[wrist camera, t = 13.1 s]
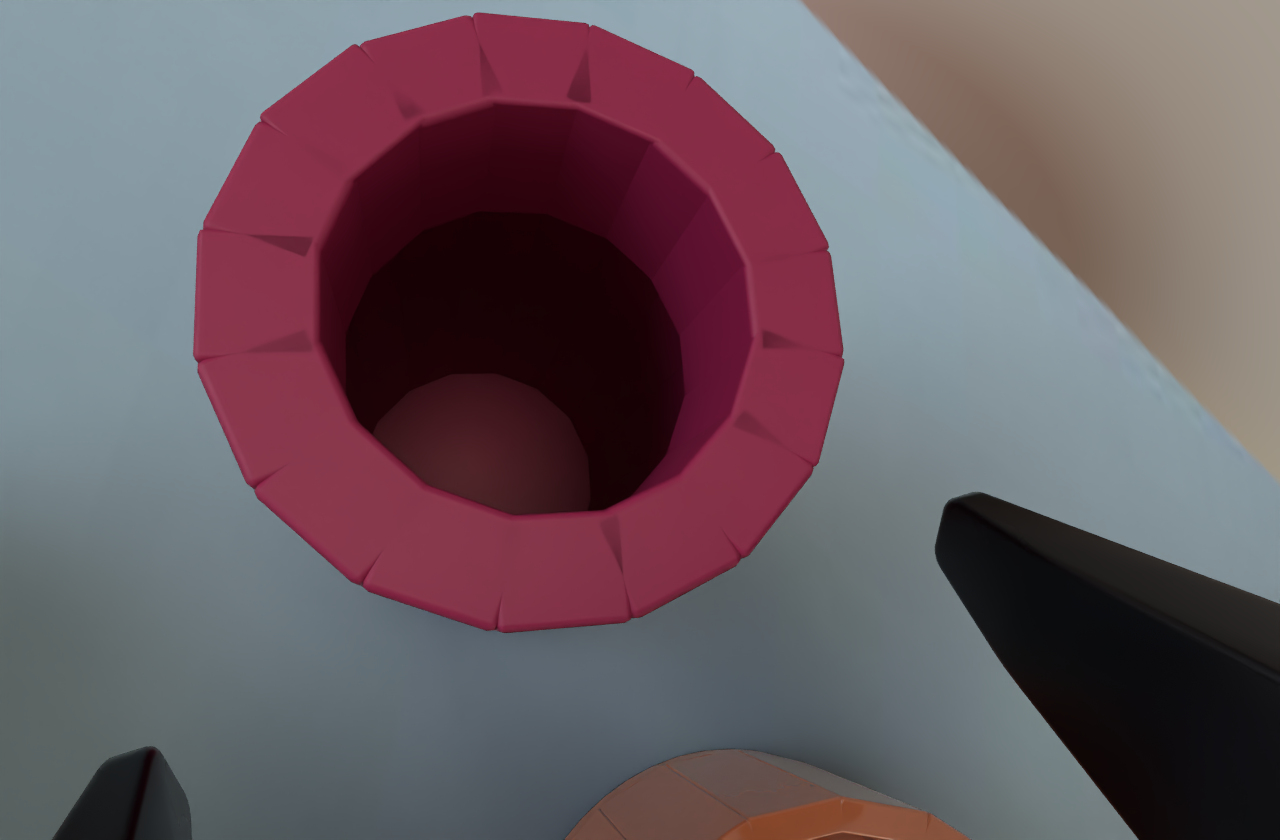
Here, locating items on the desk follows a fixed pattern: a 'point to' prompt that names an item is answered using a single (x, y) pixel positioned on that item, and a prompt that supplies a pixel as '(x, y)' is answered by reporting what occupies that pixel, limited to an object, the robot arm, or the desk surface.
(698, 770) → the pot
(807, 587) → the desk surface
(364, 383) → the crimson hollow cylinder
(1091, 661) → the robot arm
